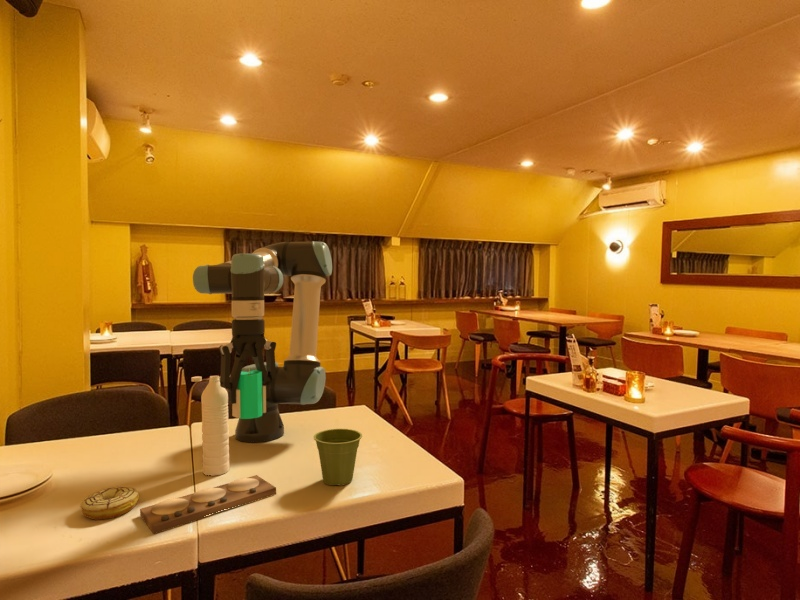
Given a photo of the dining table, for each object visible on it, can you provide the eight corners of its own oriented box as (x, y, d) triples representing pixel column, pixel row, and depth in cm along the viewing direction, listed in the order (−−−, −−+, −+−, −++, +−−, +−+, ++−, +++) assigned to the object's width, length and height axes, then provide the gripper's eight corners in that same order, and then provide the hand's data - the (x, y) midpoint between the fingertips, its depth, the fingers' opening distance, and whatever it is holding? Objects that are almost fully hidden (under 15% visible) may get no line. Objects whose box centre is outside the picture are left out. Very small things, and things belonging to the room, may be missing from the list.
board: (140, 515, 100) (139, 505, 100) (256, 480, 118) (256, 472, 118) (153, 533, 93) (153, 523, 93) (276, 493, 110) (275, 485, 110)
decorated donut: (113, 497, 110) (113, 481, 110) (149, 503, 107) (149, 486, 106) (69, 517, 100) (68, 500, 100) (107, 525, 97) (107, 507, 97)
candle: (266, 412, 118) (265, 364, 117) (257, 419, 112) (256, 368, 112) (242, 412, 118) (242, 364, 118) (232, 418, 112) (231, 367, 112)
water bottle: (229, 465, 128) (227, 372, 127) (229, 474, 122) (227, 377, 121) (194, 469, 125) (192, 375, 125) (192, 479, 119) (190, 379, 118)
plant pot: (349, 493, 110) (348, 445, 110) (304, 486, 114) (304, 440, 114) (370, 474, 121) (369, 430, 121) (328, 468, 125) (328, 426, 125)
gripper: (215, 320, 105) (217, 425, 106) (291, 317, 118) (292, 410, 119) (202, 319, 111) (204, 418, 111) (276, 316, 124) (277, 405, 124)
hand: (249, 414), depth 115 cm, fingers closed on candle, 6 cm apart
